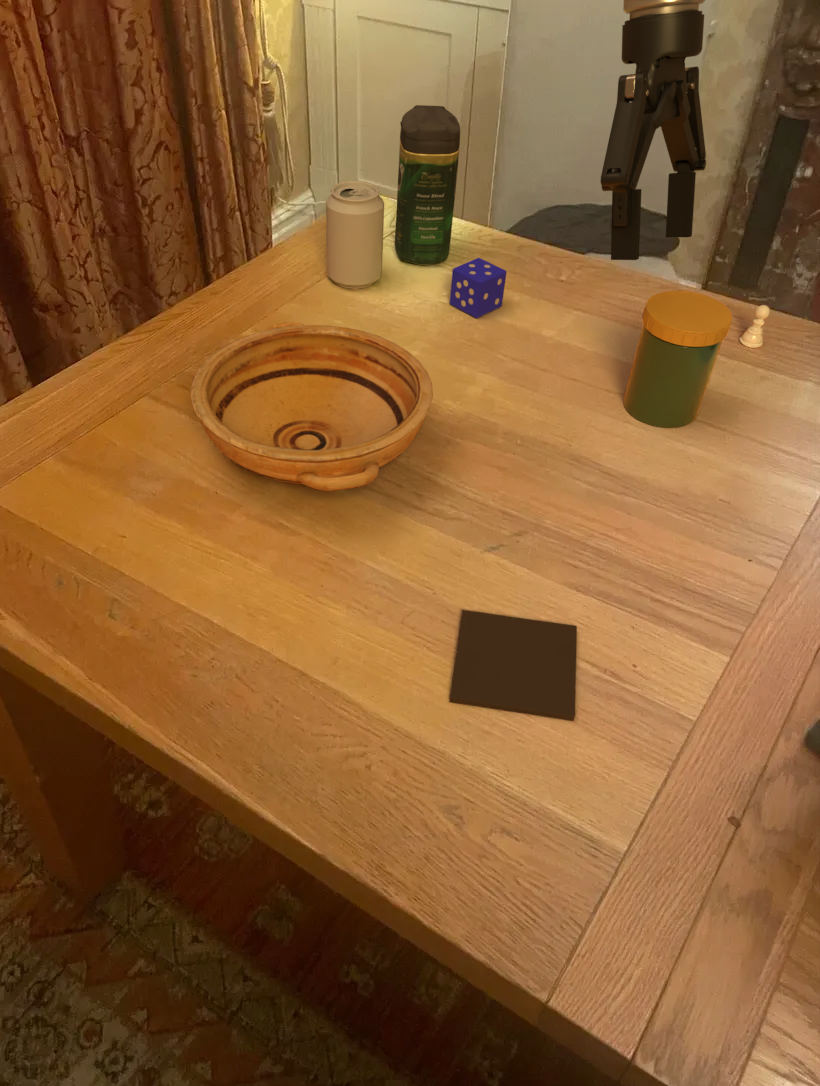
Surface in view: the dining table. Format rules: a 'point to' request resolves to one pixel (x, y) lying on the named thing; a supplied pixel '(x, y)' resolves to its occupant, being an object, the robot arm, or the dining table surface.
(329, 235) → the can
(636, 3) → the robot arm
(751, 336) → the chess pawn
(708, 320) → the jar lid
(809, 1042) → the dining table surface
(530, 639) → the coaster
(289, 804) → the dining table surface
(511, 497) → the dining table surface
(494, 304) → the die
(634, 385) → the jar
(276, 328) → the ceramic bowl
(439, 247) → the coffee jar
